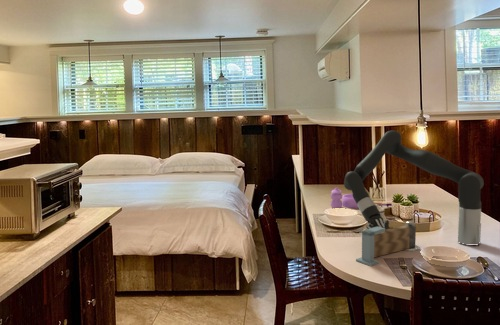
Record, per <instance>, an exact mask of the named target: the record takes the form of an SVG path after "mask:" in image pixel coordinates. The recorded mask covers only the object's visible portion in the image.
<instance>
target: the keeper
mask: <svg viewBox="0 0 500 325" xmlns="http://www.w3.org/2000/svg"><path fill="white" fill-rule="evenodd" d="M383 232H385V228H381V227H378V226H377V227H374V228H370V229H367V228H366V229H364V230H362V231H361V236H362V237H361V257H358V258H356V259H355V262H357V263H360V264H363V265H366V266H369V267H373V266H375V265H378V264H379V263H380V262H379V261H378V260H375V257H374V235H376V234H379V233H383Z"/></svg>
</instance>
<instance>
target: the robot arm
mask: <svg viewBox="0 0 500 325" xmlns="http://www.w3.org/2000/svg"><path fill="white" fill-rule="evenodd" d="M385 154H389V155H391V156H393V157H396V158H398V159H402V160H403V161H406V162H407V163H409V164H412V165H414V166H416V167H418V168H419V169H421V170H423V171H425V172H427V173H429V174H432V175H434V176H438V177H442V178H445V179H449V180H451V181H454V183H456V184H458V192H457V193H458V195H457V196H458V202H459V203H458V204H459V206H458V224H457V225H458V227H457V229H458V230H457V243H458V242H460V243H464V244H479V242H480V243H481V238H482V237H481V231H482V230H481V229H482V223H481V220H482V217H481V216H482V202H481V189H483V187H484V185H485V183H484V182H485V181H484V178H483V177H482V176H481V175H480V174H479V173H476V172H474V171H472V170H468V169H465V168H464V167H460V166H458V165H456V164H454V163H453V162H451V161H450V160H448V159H445V158H443V157H441V156H439V155H438V154H435V152H431V151H429V150H425V149H413V148H409V147H407V146H405V145H403V144H402V135H401V133H400V132H399V131H397V130H393V129H392V130H388V131H386V132H385V133H384V134H383V135H382V136H381V138H380V140H379V141H378V143H377V144H376V145H375V146H374V148H372V150H370V152H368V154H367V155H366V156H365V157H364V158H363V159H362V160H361V161H360V162H359V163H358V164H356V167H355V168H354V170H353V171H348V172H346V174H345V176H344V180H343V186H344V188H345V189H346V190H348V191H351V194H353V198H354V200H355V202H356V203H357V205H358V207H359V208H358V209H359V211H360V213H361V215H362V216H363V218H364V220H365V221H366V222H367V226H366V229H370V228H374V227H377V226H378V227H381V228H385V230H386V229H390V226H389V224H390V221H389V220H387V219H386V221H384V220H383V218H382V217H381V216H380V212H379V210H378V208H377V207H376V205H375V204H376V203H375V201H374V200H373V199H372V198H371V196H370V195H369V193H368V191H367V190H366V187H365V184H364V182H363V181H364V180H365V179H366V177H368V176H369V175H370V173H372V171H373V170H374V169H376V168H377V166H378V165H379V163H380V161H381V160H382V159H383V156H384V155H385ZM460 243H459V244H460ZM479 245H480V244H479Z"/></svg>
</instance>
